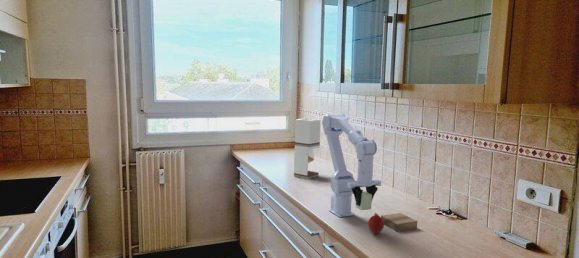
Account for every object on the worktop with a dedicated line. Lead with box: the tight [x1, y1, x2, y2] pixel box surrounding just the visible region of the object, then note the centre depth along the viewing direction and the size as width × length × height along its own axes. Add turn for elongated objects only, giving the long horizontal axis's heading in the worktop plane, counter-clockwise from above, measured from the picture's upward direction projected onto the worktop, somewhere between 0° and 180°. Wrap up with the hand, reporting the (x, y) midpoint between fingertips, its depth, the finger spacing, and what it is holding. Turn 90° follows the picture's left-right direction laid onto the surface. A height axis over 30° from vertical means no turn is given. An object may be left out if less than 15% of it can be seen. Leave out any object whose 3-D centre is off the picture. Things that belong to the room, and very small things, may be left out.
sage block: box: [355, 190, 373, 211], centre depth 150 cm, size 4×4×6 cm
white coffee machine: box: [293, 117, 322, 180], centre depth 230 cm, size 11×11×35 cm
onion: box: [367, 212, 385, 235], centre depth 142 cm, size 6×6×8 cm
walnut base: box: [380, 212, 418, 233], centre depth 151 cm, size 10×10×3 cm
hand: (363, 204), depth 150 cm, fingers closed on sage block, 4 cm apart
